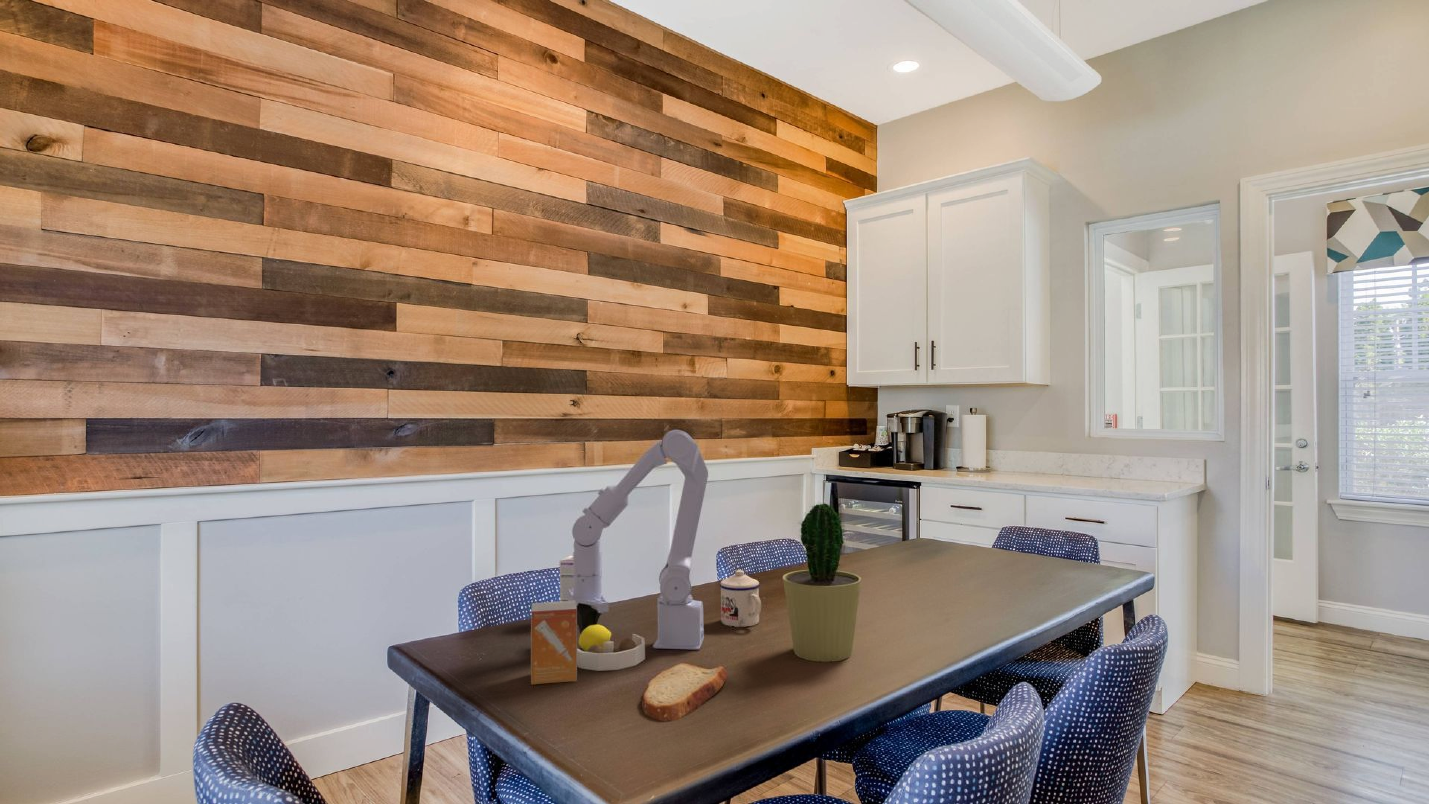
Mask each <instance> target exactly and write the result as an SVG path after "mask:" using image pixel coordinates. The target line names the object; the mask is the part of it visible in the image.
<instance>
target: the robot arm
mask: <svg viewBox="0 0 1429 804" xmlns="http://www.w3.org/2000/svg"><path fill="white" fill-rule="evenodd" d="M667 459H669V460H670V461H671V462H672V463H674V464H675V465H676V466H677V467H678V469H679V470H680V472H681V473H682V474H683V476H684V482H683V486H682V490H681V495H680V501H679V506H678V512H677V515H676V521H675V526H674V530H673V534H672V540H671V543H670V544H671V545H670V550H669V553H668V556H667V560H666V564H665V566H664V567H663V568H662V569H661V571H660V573H659V576H658V577H659V579H658V580H659V591H660V595H659V596H658V597H657V639H656V641H655V642H654V644H653V645H652V648H653V649H666V650H667V649H668V650H670V649H671V650H700V648H701V646H702V645H703V642H704V638H705V636H704V635H705V629H704V604H703V601H701V600H694V599H693V595H692V594H691V591H692V583H691V579H690V573H691V568H692V567H691V566H692V556H693V551H694V547H695V541H696V537H697V532H698V529H699V522H700V518H701V511H702V507H703V502H704V497H705V493H706V487H707V483H708V478H709V470H708V467H707V465H706V462H705V460H704V458H703V456H702V453H701V451H700V448H699V445H698V444H697V442H696V441H695V440H694V439H693V438H692V437H691V436H690V434H689V433H687V432H686V431H683V430H680V429H672V430H670V431H669V430H668V432H666V433H665V434H664V435H663V437H662V439H659V440H657V442H655V443H654V444H652V446H650V447H649V448H648V449H647V450H646V451H645V452H644V453H643V454H642V456H641V457H640V458H639V459H638V460H637V461H636V462H635V463H634V465H633V466H632V467H631V469H629V471H628V472H627V473H626V474H625V476H624V477H623V478H622V479H621V480H620V481H619V482H618V483H617V485H608V486H606V487H605V489H604V488H601V489H600V490H599V491H598V492H597V494H598V496H597V497H596V498H595V500H593V502H592V503H591V504H590V505H589V506H588V507H584V509H582V513H583V514H582V515H581V516H579V517H578V518H577V519H576V520H575V522H574V524H573V526H572V531H571V534H572V537H573V539H574V542H573V552H572V556H573V589H570V590H568V601H574V600H575V601H576V602H577V603H578V604H577V627H578V631H579V636H580V635H581V633H582V631H583V630H584V629H585V628H587V627H588V626H591V625H598V623H599V622H598V621H599V619H600V617H601V615H602V614H603V613H608V612H609V611H610V610H609V607H610V605H609V601H608V600H606V598H605V597H604V595H603V594H602V591H603V590H602V585H603V584H602V580H603V579H602V550H601V537H602V533H603V530H604V529H606V528H609V527H610V526H611V525H612V523H613V522H614V521H615V520H616V519H617V518H618V517H619V516H620V514H621V513H623V511H624V510H625V509H626V508H627V507H628V506H629V495H630V494H631V493H632V491H633V490H634V489H636V487H637V486H638V485H639V484H640V483H642V481H643V480H644V479H645V478H646V477H648V475H649V474H650V473H651V472H652V470H654V469H655V468H658V467H660V466H663V465H666V464H667V465H668V462H667Z"/></svg>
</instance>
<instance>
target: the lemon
mask: <svg viewBox="0 0 1429 804" xmlns="http://www.w3.org/2000/svg"><path fill="white" fill-rule="evenodd" d="M611 637H612V632H611V631H610V630H609V629H607V627H605V626H604V625H601V624H597V625H591V626H588V627H587V628H585V629H584V630H583V631H582V633H581V635H580V634H579V637H578V645H579V647H580V648H581V650H582V651H585V652H587V651H588V649H589V648H590V647H591V646H593V645H598V646H601V647H602V648H603V642H605V641H611Z"/></svg>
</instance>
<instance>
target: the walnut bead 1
mask: <svg viewBox="0 0 1429 804" xmlns="http://www.w3.org/2000/svg"><path fill="white" fill-rule="evenodd" d="M587 652H592V653H604V650H603V648H602V647H601V646H598V645H593V646H591V647H590V648H589V649H588V651H587Z"/></svg>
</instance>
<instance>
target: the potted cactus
mask: <svg viewBox="0 0 1429 804" xmlns="http://www.w3.org/2000/svg"><path fill="white" fill-rule="evenodd" d="M814 503H815V504H814V505H811V506H810V507H811V509H809V511H808V513H805V515H804V518H803V519H802V520H800V521H799V520H798V524H799V525H800V527H801V528H800V541H799V542H797V544H799V543H801V545H802V547H804V550H802V551H801V553H803V554H804V555H805V556H804V555H803V556H802V557H803V558H804V559H806V561H804V560H801V561H804V563H805V564H807V568H808V569H803V570H802V569H800V570H795V571H791V572H790V571H789V572H788V573H785V574H783V575H782V580H783V587H784V593H785V601H786V608H787V612H788V613H787V615H788V621H789V628H790V633H791V640H792V647H793V652H794V654H795V655H796V656H797V657H799V658H801V659H803V658H804V660H808V661H813V662H820V661H821V662H822V663H823V662H824V663H825V662H827V663H828V662H830V661H832V662H838V661H843V660H846V659H848V658H850V657H851V655H852V652H853V645H854V637H855V630H856V623H857V622H856V621H857V614H858V606H859V598H860V592H861V591H860V590H861V581H862V577H860V576H859V575H858V574H855V573H852V572H848V571H842V570H839V568H838V567H841V568H842V565H841V564H839V563H840V562H839V561H840V559H841V556H842V555H844V554H843V553H844V552H842V551H841V550H845V551H847V549H848V547H846V546H848V545H847V544H846V543H845V538H844V536H845V535H847V533H846V534H843V528H845V525H843V524H842V520H841V518H842V517H843V513H840V514H838V512H836V510H835V507H834V508H833V507H832V504H831V502H829V503H828V504H827V503H825V502H823V503H820V502H817V503H816V502H814ZM844 543H845V544H844ZM846 548H847V549H846ZM830 663H831V662H830Z"/></svg>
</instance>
